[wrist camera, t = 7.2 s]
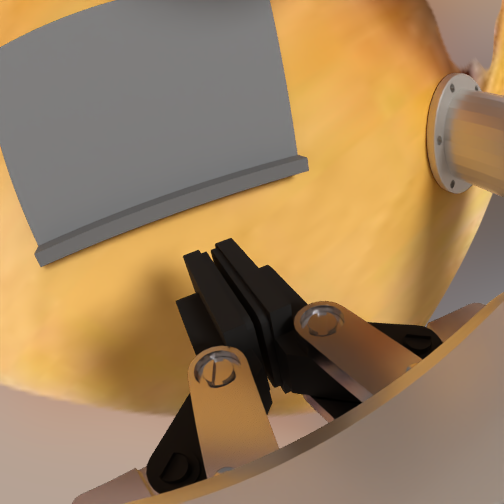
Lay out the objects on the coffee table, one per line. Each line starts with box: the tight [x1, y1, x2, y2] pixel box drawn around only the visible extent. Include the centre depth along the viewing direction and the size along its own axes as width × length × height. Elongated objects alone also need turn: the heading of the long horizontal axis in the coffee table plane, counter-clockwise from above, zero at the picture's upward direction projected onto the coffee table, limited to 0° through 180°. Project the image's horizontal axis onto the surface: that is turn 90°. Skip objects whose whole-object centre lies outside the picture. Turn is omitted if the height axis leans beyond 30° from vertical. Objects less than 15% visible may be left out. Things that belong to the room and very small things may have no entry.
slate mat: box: [0, 0, 309, 267], centre depth 13 cm, size 16×12×2 cm
